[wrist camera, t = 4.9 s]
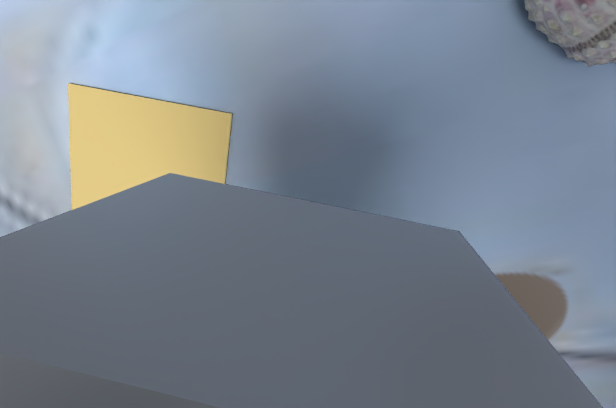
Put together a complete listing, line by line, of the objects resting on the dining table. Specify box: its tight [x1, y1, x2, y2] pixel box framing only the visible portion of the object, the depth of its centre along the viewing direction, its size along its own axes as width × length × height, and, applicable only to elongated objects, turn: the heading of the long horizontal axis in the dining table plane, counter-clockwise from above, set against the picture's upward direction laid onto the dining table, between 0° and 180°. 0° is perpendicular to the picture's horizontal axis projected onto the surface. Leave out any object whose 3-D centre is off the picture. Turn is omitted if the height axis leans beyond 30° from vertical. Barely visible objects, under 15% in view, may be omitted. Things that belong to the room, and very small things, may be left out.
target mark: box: [68, 83, 232, 210], centre depth 27 cm, size 12×12×1 cm
